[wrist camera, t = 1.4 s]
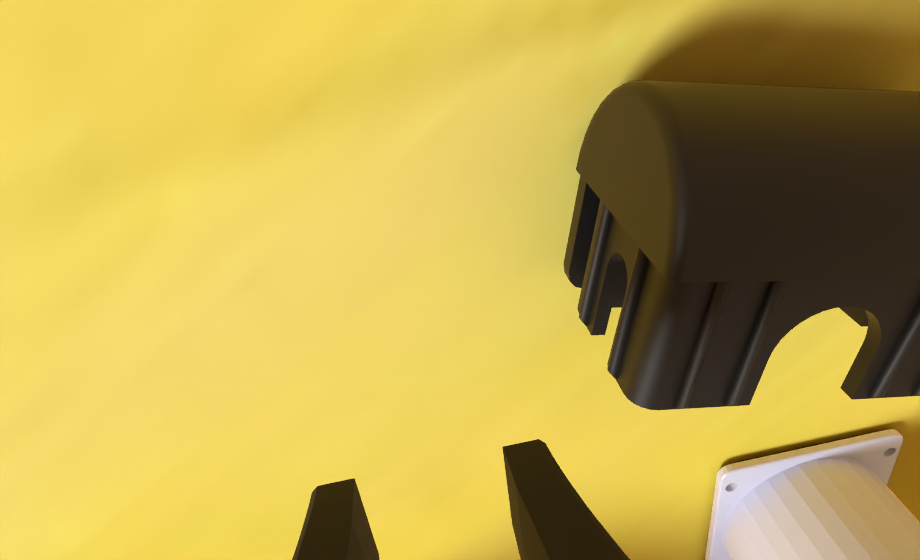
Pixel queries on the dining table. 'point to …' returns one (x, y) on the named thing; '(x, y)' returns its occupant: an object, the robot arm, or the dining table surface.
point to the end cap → (747, 233)
